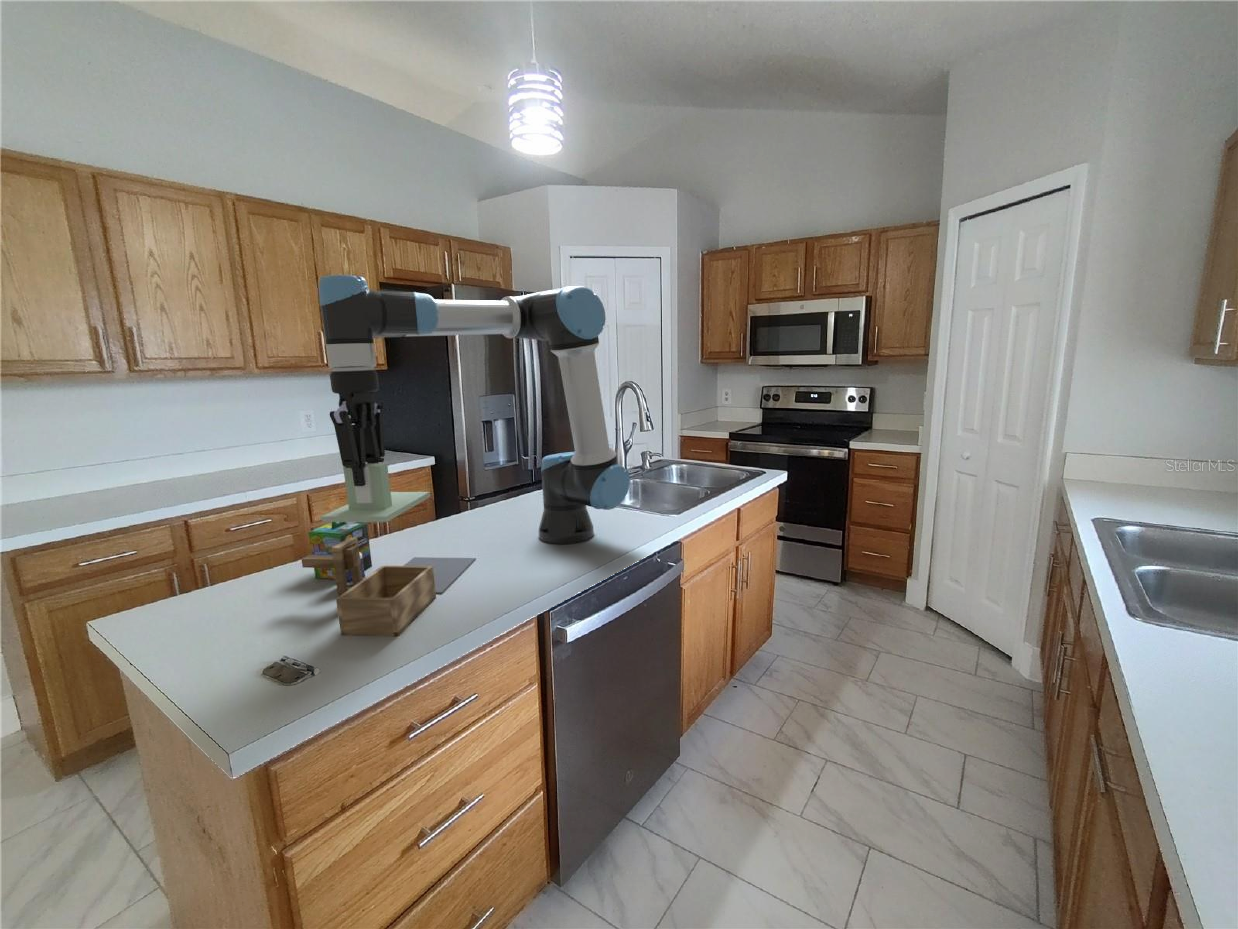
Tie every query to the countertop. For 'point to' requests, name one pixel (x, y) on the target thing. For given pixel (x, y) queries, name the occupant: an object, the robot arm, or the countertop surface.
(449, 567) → the mat
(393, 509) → the lid
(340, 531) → the chalk box
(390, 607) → the wooden storage box
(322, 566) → the brown wooden bar
